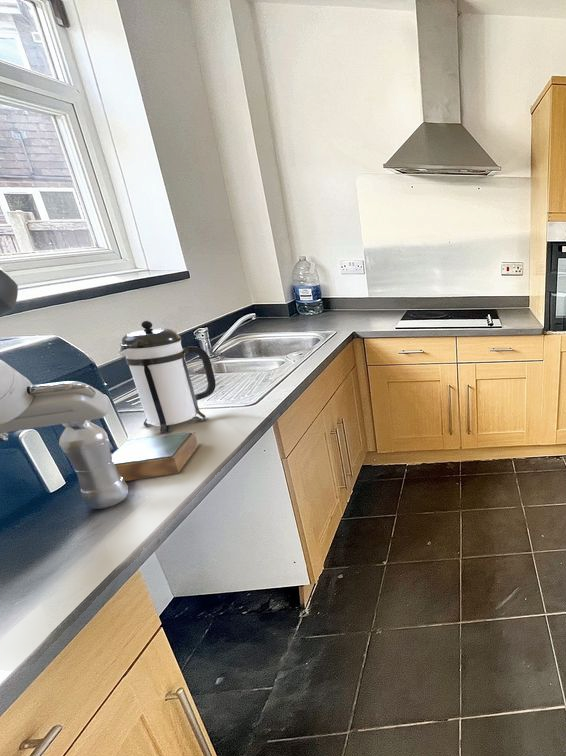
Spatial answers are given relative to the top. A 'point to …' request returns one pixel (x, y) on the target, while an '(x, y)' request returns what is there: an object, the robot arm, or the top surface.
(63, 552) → the top surface
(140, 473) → the riser
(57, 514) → the top surface
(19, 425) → the robot arm
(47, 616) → the top surface
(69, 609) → the top surface
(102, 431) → the plastic bottle
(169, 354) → the coffee press
